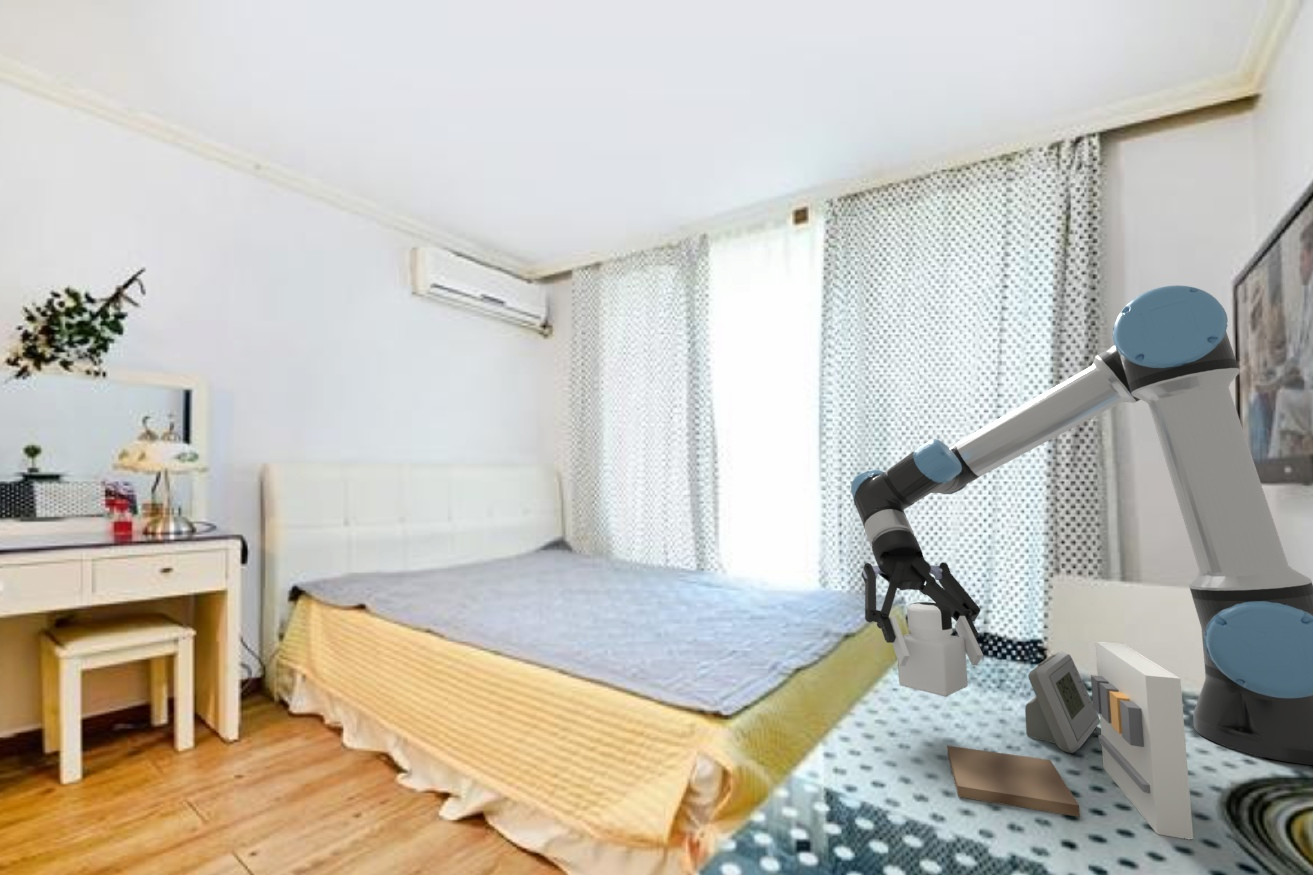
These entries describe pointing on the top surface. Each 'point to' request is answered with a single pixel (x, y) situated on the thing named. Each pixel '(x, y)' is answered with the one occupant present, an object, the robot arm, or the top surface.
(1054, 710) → the digital clock
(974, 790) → the walnut board
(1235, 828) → the top surface
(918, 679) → the medicine bottle
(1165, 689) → the breaker panel
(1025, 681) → the top surface
